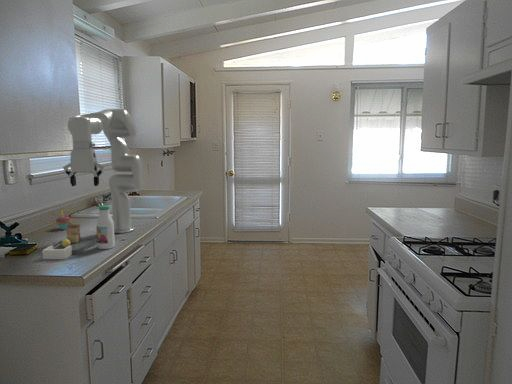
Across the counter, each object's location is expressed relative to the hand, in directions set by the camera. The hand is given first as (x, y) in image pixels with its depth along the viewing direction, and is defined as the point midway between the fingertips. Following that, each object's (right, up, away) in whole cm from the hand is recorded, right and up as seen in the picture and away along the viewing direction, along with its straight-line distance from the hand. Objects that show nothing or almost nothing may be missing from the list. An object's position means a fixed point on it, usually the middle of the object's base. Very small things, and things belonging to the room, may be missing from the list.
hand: (85, 185), depth 169 cm
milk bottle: (+3, -29, +16) cm, 34 cm away
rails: (-13, -28, +9) cm, 32 cm away
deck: (-13, -30, +13) cm, 35 cm away
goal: (-13, -31, +2) cm, 34 cm away
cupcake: (-36, -24, +54) cm, 69 cm away
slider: (-13, -27, +18) cm, 35 cm away
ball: (-13, -26, +10) cm, 31 cm away
